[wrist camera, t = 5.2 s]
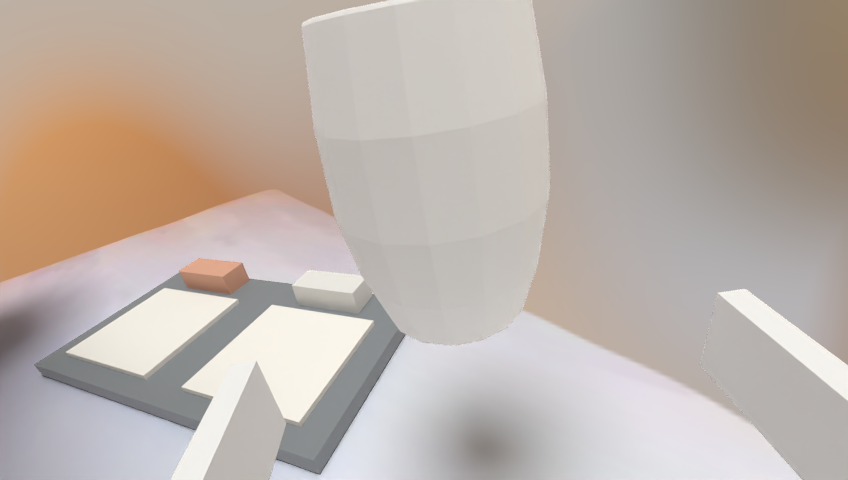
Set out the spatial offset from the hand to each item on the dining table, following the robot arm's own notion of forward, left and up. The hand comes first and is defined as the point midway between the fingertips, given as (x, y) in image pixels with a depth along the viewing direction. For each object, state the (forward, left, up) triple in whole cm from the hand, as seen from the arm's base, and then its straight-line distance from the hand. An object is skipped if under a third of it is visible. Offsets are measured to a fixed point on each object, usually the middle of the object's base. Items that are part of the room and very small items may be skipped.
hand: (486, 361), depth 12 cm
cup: (-2, +4, -12) cm, 12 cm away
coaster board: (-24, +8, -11) cm, 28 cm away
